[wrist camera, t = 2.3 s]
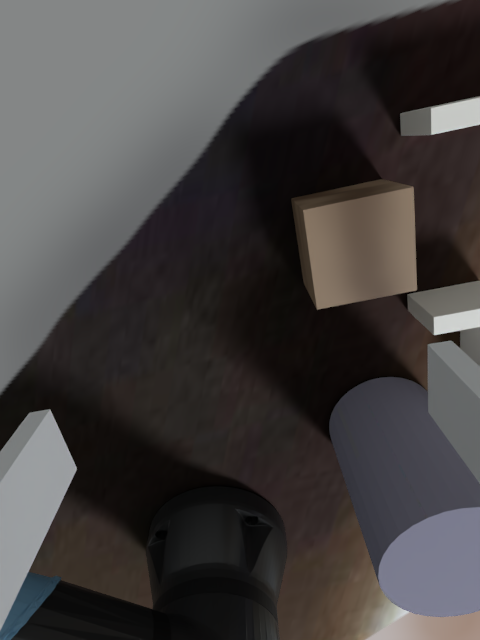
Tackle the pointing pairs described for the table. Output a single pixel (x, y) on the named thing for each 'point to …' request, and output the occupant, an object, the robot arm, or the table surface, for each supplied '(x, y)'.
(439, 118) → the white walled enclosure
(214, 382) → the table surface
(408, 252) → the block
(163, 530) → the robot arm
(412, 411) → the lavender cylinder
